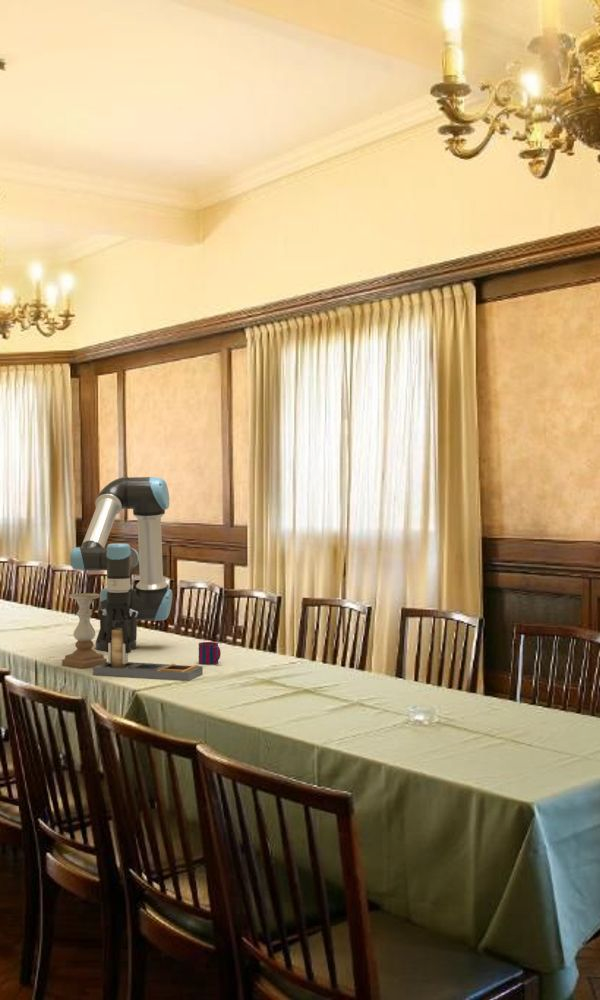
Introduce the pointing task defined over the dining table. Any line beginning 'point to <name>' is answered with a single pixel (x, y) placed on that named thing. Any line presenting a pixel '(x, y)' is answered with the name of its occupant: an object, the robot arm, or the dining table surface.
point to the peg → (117, 648)
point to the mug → (209, 653)
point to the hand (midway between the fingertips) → (118, 662)
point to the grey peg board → (150, 671)
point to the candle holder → (84, 636)
